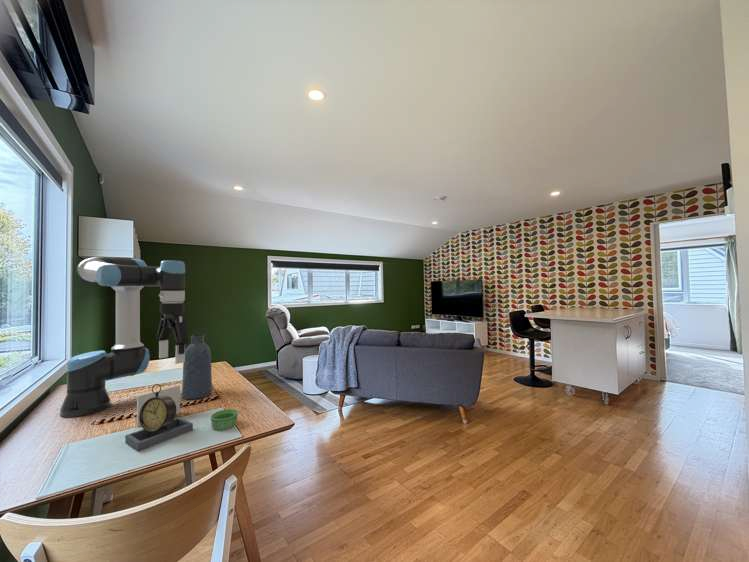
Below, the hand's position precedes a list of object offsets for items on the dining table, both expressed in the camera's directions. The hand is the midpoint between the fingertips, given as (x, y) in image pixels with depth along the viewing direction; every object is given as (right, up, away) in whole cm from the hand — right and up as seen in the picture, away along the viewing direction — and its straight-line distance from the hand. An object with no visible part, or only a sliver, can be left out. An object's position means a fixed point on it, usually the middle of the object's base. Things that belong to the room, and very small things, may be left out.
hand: (171, 360), depth 109 cm
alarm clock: (+3, -22, -9) cm, 24 cm away
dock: (+2, -24, -9) cm, 25 cm away
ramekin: (+20, -24, -1) cm, 31 cm away
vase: (-9, -25, +30) cm, 40 cm away
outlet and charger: (-4, -24, +2) cm, 24 cm away
